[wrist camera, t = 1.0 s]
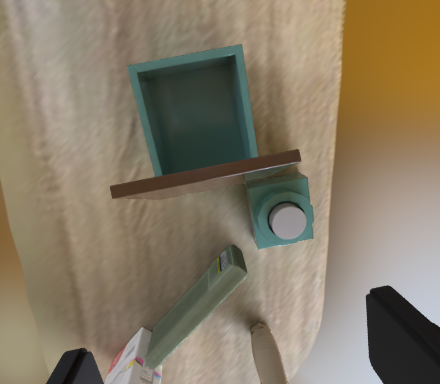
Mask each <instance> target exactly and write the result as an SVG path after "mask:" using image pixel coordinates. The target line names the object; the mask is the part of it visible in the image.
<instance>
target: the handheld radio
mask: <svg viewBox="0 0 440 384" xmlns="http://www.w3.org/2000/svg"><path fill="white" fill-rule="evenodd" d="M247 276H248V273H247V269H246V266H245V262H244V258H243V254H242V251H241V250H240V249H239V248H237V247H236V246H235V245H232V246H230V247H228V248H226V249H225V250H224V251H223V252H222V254H221V255H220V256H219V257H218V258H217V259H216V260H215V261H214V262H213V263H212V264H211V265H210V266H209V268H208V270H207V271H206V272H205V273H204V274H203V276H202V277H201V278H200V279H199V280H198V281H197V282H196V283H195V284H194V285H193V286H192V287H191V288H190V289H189V290H188V291H187V293H186V294H185V295H184V296H183V297H182V298H181V299H180V300H179V301H178V302H177V303H176V304H175V305H174V306H173V307H172V309H171V310H170V311H169V312H168V313H167V314H166V315H165V316H164V317H163V318H162V319H161V320H160V321H159V322H158V323H157V325H156V326H155V327H154V328H153V332H152V336H151V339H150V343H149V347H148V351H147V355H146V362H147V363H146V366H148V367H150V368H151V369H152V370H154V369H156V368H158V367H159V366H160V365H161V364H162V363H163V362H164V361H165V360H166V359H167V358H168V357H169V356H170V355H171V354H172V353H173V352H174V351H175V350H176V349H177V348H178V347H179V346H180V345H181V344H182V343H183V342H184V341H185V340H186V339H187V338H188V337H189V336H190V335H191V334H192V333H193V332H194V331H195V330H196V329H197V328H198V327H199V326H200V325H201V324H202V322H203V321H204V320H205V319H206V318H207V317H208V316H209V315H210V314H211V313H212V312H213V311H214V310H215V309H216V308H217V307H218V306H219V305H220V304H221V303H222V302H223V301H224V300H225V299H226V298H227V297H228V296H229V295H230V294H231V293H232V292H233V291H234V290H235V289H236V288H237V286H238V285H239V284H240V283H241V282H242V281H243V280H244V279H245V278H246V277H247Z"/></svg>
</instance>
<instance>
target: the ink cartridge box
mask: <svg viewBox="0 0 440 384" xmlns="http://www.w3.org/2000/svg"><path fill="white" fill-rule="evenodd" d="M151 336H152V332H151V331H149V330H147V329H145V328H144V327H142V328H141V329H140V330H139V331H138V332H137V333H136V334H135V336H134V337H133V338H132V339H131V340H130V341H129V342H128V344H127V345H126V346H125V347H124V348H123V349H122V351H121V352H120V353H119V354H118V355H117V356H116V358H115V359H114V360H113V361H112V364H111V367H110V370H109V372H108V375H107V378H106V381H105V384H160V380H161V372H162V364H163V363H162V364H161V365H160V366H159V367H158V368H156V369H154V370H152V369H151V368H150V367H148V366H146V363H147V362H146V355H147V351H148V347H149V343H150V339H151Z"/></svg>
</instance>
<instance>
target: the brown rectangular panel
mask: <svg viewBox="0 0 440 384" xmlns="http://www.w3.org/2000/svg"><path fill="white" fill-rule="evenodd" d="M299 162H301V157H300V152H299V149H296V150H291V151H286V152H281V153H276V154H271V155H266V156H260V157H255V158H250V159H245V160H240V161H235V162H230V163H225V164H220V165H214V166H209V167H204V168H199V169H194V170H189V171H184V172H179V173H174V174H169V175H163V176H158V177H153V178H148V179H143V180H138V181H133V182H128V183H123V184H117V185H112V186H110V190H111V195H112V199H146V200H162V199H167V198H172V197H177V196H182V195H188V194H193V193H198V192H203V191H208V190H213V189H218V188H223V187H228V186H233V185H238V184H243V183H248V182H253V181H258V180H263V179H265V178H267V177H269V176H271V175H273V174H276V173H278V172H280V171H282V170H284V169H286V168H289V167H291V166H293V165H295V164H297V163H299Z"/></svg>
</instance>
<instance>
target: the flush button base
mask: <svg viewBox="0 0 440 384" xmlns="http://www.w3.org/2000/svg"><path fill="white" fill-rule="evenodd" d="M245 189H246V195H247V201H248V207H249V213H250V219H251V225H252V231H253V237H254V241H255V243H256V246H257V248H258V249H263V248H268V247H273V246H278V245H281V246H283V245H288V244H293V243H297V242H298V241H303V240H308V239H313V227H312V224H313V222H314V215H313V207H312V205H311V204H310V197H309V186H308V177H306V176H304V175H303V174H301V173H294V174H289V175H284V176H279V177H274V178H269V179H264V180H259V181H254V182H249V183H245ZM281 203H292V204H294V205H296V206H297V207H298V208H299V209H300V210H302V212H303V213H304V214H305V216H306V227H305V229H304V231H303V232H302V233H301V234H300V235H299V236H298V237H296V238H293V239H282V238H280V237H278V236H277V235H276V234H275V233H274V231H273V230H272V228H271V226H270V224H269V215H270V213H271V211H272V210H273V208H274V207H276V206H277V205H279V204H281Z"/></svg>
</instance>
